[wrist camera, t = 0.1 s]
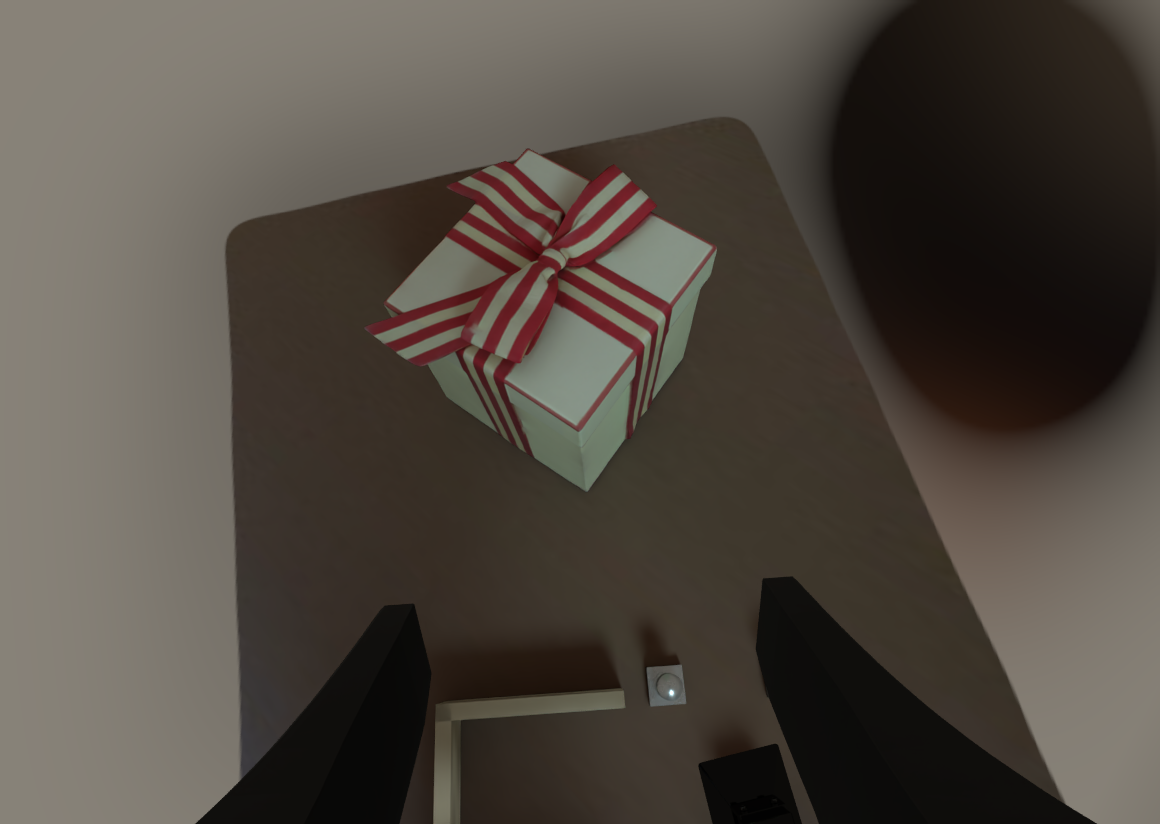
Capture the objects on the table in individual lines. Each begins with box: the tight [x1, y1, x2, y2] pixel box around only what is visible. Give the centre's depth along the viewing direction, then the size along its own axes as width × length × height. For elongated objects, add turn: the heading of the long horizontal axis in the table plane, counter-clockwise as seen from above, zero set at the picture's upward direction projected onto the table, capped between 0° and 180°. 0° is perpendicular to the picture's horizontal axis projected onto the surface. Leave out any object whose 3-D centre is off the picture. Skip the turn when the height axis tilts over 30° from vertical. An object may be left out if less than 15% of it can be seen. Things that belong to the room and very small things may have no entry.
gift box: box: [365, 149, 717, 492], centre depth 42 cm, size 17×18×17 cm
